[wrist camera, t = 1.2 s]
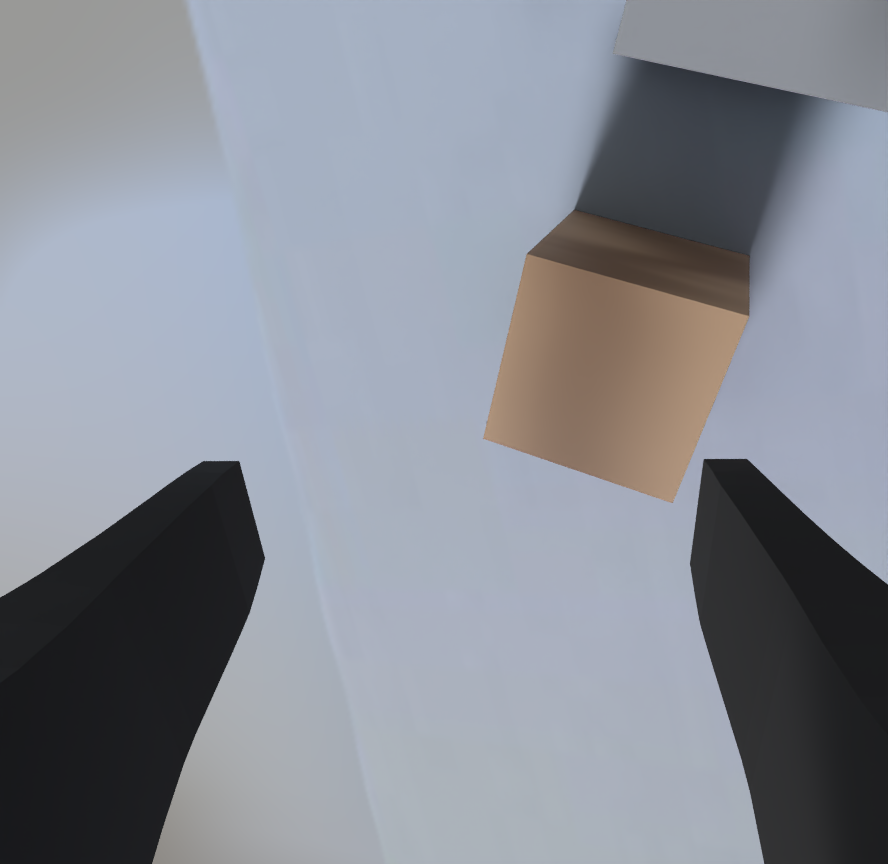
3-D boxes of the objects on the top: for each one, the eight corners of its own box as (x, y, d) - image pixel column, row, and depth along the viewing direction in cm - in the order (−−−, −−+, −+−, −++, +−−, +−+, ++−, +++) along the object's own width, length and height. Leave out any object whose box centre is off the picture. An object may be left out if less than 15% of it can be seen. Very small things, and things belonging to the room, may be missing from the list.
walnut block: (749, 255, 18) (749, 316, 14) (688, 411, 21) (672, 503, 17) (574, 209, 19) (527, 253, 15) (534, 363, 22) (483, 438, 18)
